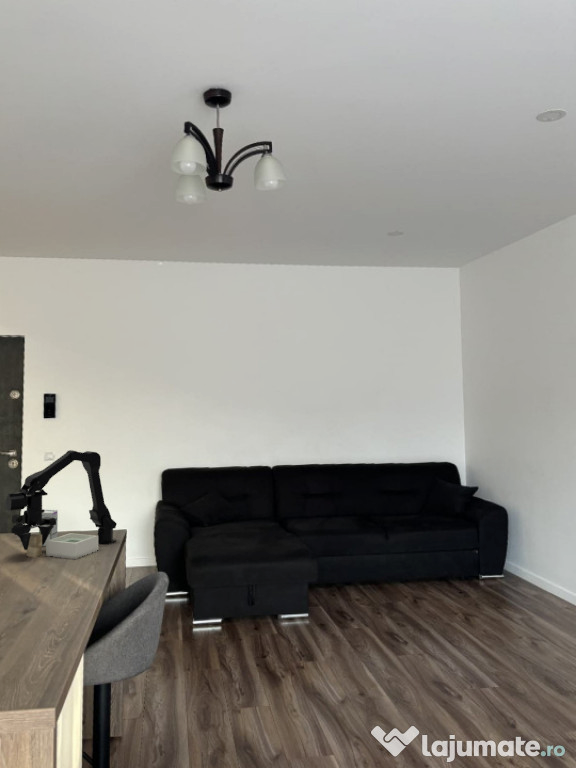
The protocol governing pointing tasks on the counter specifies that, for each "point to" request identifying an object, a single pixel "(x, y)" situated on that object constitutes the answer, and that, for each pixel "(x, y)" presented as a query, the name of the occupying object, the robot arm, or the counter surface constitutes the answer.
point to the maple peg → (35, 546)
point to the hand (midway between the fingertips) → (34, 547)
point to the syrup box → (53, 532)
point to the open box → (72, 545)
